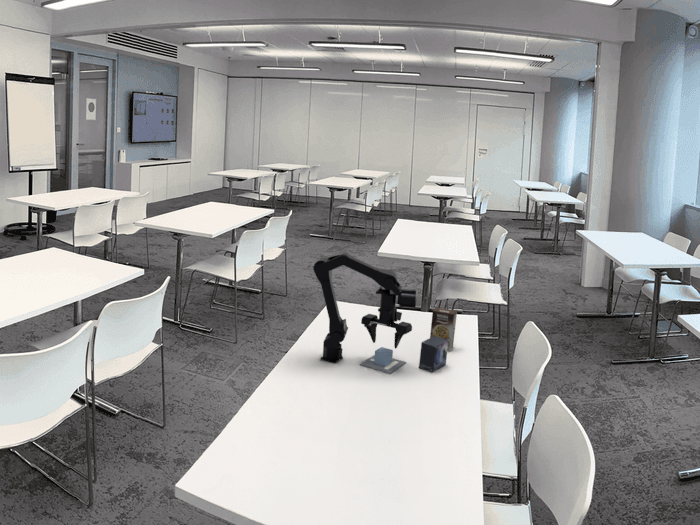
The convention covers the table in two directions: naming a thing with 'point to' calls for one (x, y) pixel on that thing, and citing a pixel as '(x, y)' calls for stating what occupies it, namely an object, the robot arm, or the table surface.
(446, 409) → the table surface
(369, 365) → the letter card
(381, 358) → the blue cube
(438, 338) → the small box
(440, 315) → the coffee box
